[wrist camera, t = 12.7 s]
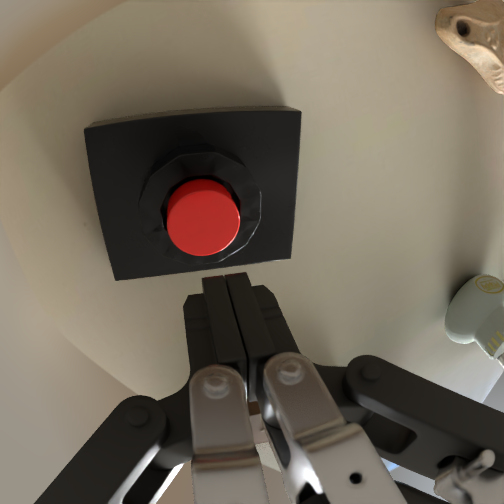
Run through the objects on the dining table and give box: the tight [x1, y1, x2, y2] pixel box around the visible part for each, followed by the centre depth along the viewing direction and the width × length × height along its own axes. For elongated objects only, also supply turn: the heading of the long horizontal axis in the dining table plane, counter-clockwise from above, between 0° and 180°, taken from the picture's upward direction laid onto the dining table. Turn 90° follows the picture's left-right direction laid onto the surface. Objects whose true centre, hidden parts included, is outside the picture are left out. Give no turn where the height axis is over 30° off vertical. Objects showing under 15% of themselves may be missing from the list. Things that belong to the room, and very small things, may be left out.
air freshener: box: [445, 275, 504, 359], centre depth 32 cm, size 11×8×10 cm
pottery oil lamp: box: [435, 0, 504, 94], centre depth 14 cm, size 9×12×7 cm
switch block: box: [84, 106, 302, 281], centre depth 18 cm, size 12×10×4 cm
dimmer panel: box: [247, 398, 269, 444], centre depth 37 cm, size 13×10×3 cm
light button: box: [167, 179, 240, 256], centre depth 16 cm, size 4×4×2 cm
